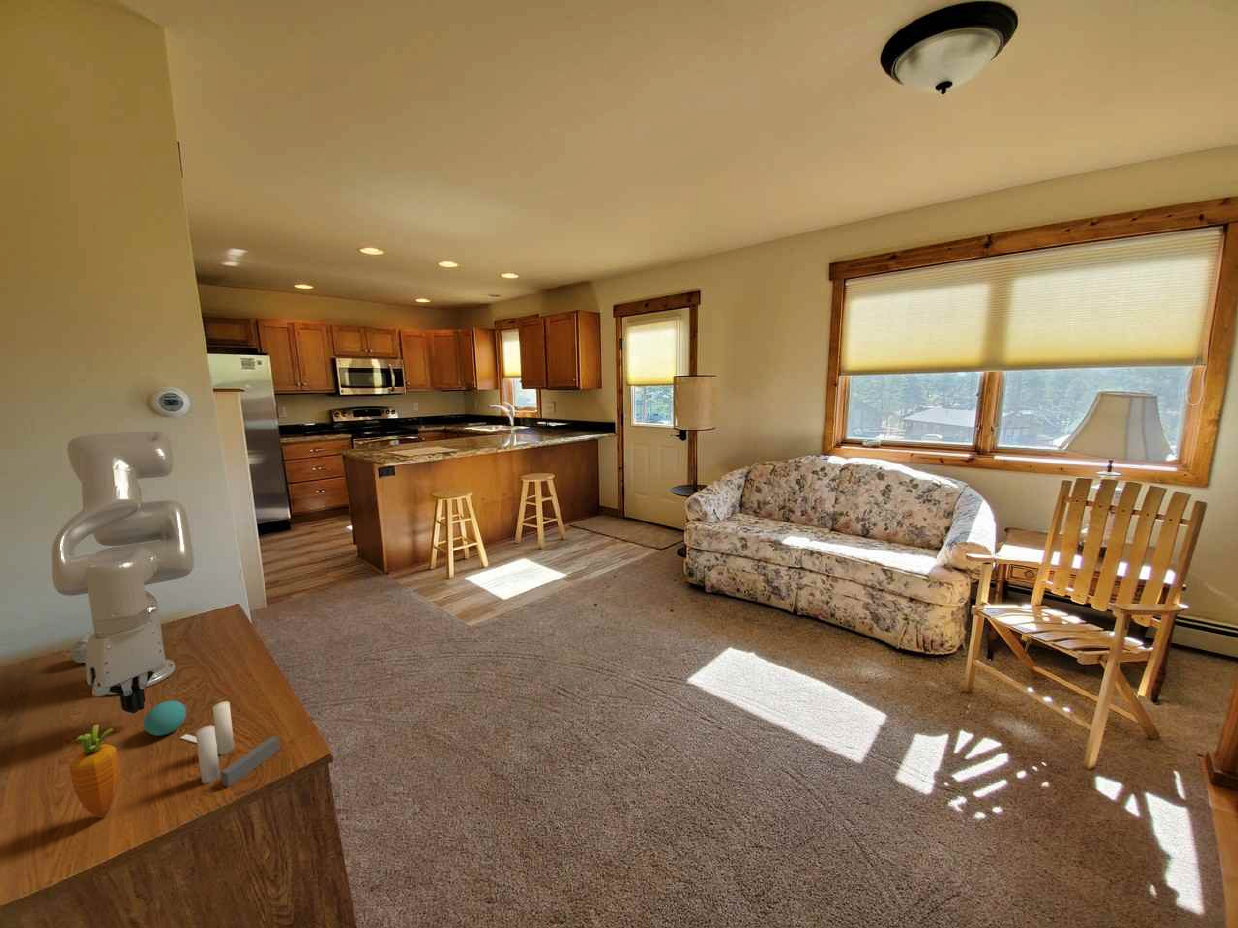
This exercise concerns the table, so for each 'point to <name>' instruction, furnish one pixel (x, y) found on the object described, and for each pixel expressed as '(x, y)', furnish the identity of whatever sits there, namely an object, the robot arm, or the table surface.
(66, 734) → the table surface
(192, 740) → the lane line
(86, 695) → the table surface
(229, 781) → the wall
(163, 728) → the ball
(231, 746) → the ivory pin
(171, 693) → the table surface
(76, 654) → the white ridged lump
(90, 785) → the carrot
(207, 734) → the white cylinder rod
